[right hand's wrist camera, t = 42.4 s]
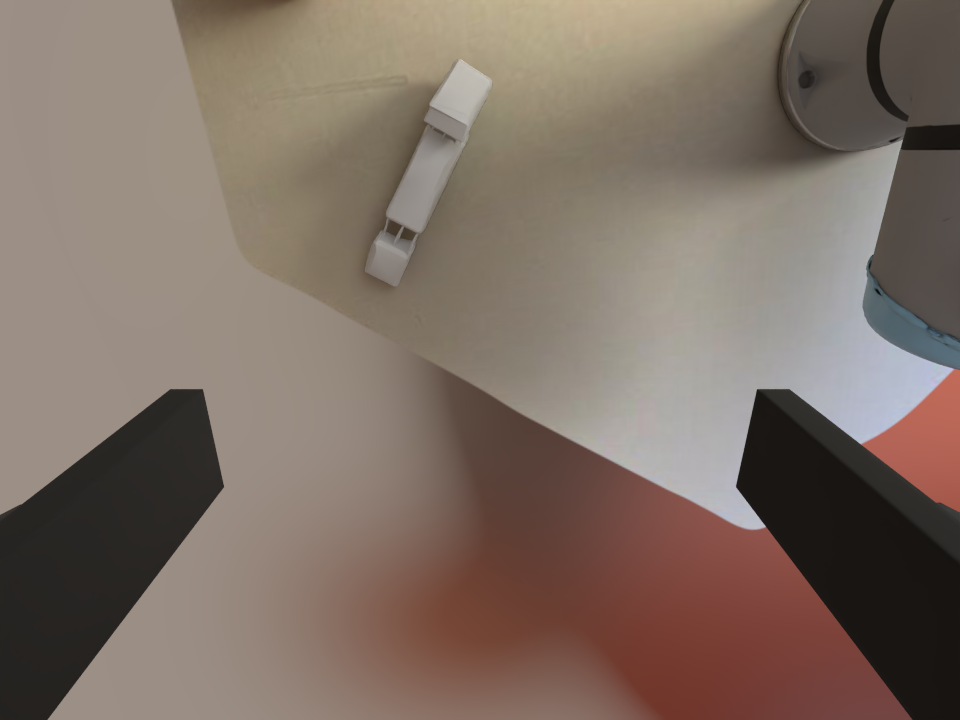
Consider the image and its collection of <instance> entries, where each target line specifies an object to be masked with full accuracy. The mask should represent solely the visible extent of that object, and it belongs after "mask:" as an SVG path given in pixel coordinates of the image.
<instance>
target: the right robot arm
mask: <svg viewBox="0 0 960 720" xmlns="http://www.w3.org/2000/svg"><path fill="white" fill-rule="evenodd" d="M778 83H779V92H780V97H781V101H782V104H783V107H784V109H785V112H786V114H787V116H788V118H789V120H790V121H791V123H792V124H793V126H794V127H795V128H796V129H797V130H798V131H799V132H800V133H801V134H802V135H803V136H804V137H805V138H807V139H808V140H810V141H811V142H813V143H815V144H817V145H819V146H822V147H825V148H829V149H833V150H845V151H860V150H870V149H875V148H879V147H882V146H886V145H889V144H892V143H895V142H898V141H900V140H902V139H903V142H902V146H901V150H900V153H899V157H898V161H897V165H896V169H895V173H894V177H893V180H892V184H891V188H890V192H889V196H888V200H887V204H886V208H885V212H884V216H883V220H882V224H881V228H880V232H879V236H878V240H877V244H876V248H875V252H874V255H872V256H871V257H870V259H869V261H868V263H867V268H866V270H867V278H868V279H867V284H866V289H865V294H864V299H863V310H864V314H865V317H866V320H867V322H868V324H869V325H870V326H871V327H872V328H873V330H874V331H875V332H876V333H878V334H879V335H880V336H881V337H883V338H884V339H885V340H887V341H888V342H890V343H892V344H893V345H895V346H897V347H899V348H901V349H903V350H905V351H907V352H909V353H911V354H914V355H916V356H918V357H921V358H923V359H926V360H929V361H931V362H934V363H937V364H940V365H943V366H947V367H950V368H954V369H958V370H960V0H804V1H803V2H802V4H801V5H800V7H799V8H798V10H797V12H796V13H795V15H794V17H793V19H792V21H791V23H790V25H789V28H788V30H787V33H786V35H785V38H784V41H783V45H782V49H781V54H780V59H779V67H778ZM223 488H224V485H223V480H222V476H221V471H220V466H219V462H218V457H217V452H216V448H215V443H214V438H213V434H212V429H211V425H210V420H209V415H208V411H207V406H206V402H205V397H204V392H203V389H170V390H169V391H168V392H166V393H165V394H164V395H163V396H161V397H160V398H159V399H157V400H156V401H155V402H154V403H152V404H151V405H150V406H148V407H147V408H146V409H145V410H143V411H142V412H141V413H139V414H138V415H137V416H135V417H134V418H133V419H132V420H130V421H129V422H128V423H126V424H125V425H124V426H123V427H121V428H120V429H119V430H117V431H116V432H115V433H114V434H112V435H111V436H110V437H108V438H107V439H106V440H105V441H103V442H102V443H101V444H99V445H98V446H97V447H95V448H94V449H93V450H92V451H90V452H89V453H88V454H86V455H85V456H84V457H83V458H81V459H80V460H79V461H77V462H76V463H75V464H73V465H72V466H71V467H70V468H68V469H67V470H66V471H64V472H63V473H62V474H61V475H59V476H58V477H57V478H55V479H54V480H53V481H52V482H50V483H49V484H48V485H46V486H45V487H44V488H43V489H41V490H40V491H39V492H37V493H36V494H35V495H34V496H32V497H31V498H30V499H28V500H27V501H26V502H24V503H23V504H22V505H19V506H17V507H15V508H13V509H11V510H9V511H7V512H5V513H3V514H1V515H0V720H47V719H48V718H49V717H50V716H51V714H52V713H53V712H54V710H55V709H56V708H57V706H58V705H59V704H60V702H61V701H62V700H63V698H64V697H65V696H66V694H67V693H68V692H69V690H70V689H71V688H72V687H73V685H74V684H75V683H76V681H77V680H78V679H79V677H80V676H81V675H82V673H83V672H84V671H85V669H86V668H87V667H88V665H89V664H90V663H91V662H92V660H93V659H94V658H95V656H96V655H97V654H98V652H99V651H100V650H101V648H102V647H103V646H104V644H105V643H106V642H107V640H108V639H109V638H110V636H111V635H112V634H113V632H114V631H115V630H116V629H117V627H118V626H119V625H120V623H121V622H122V621H123V619H124V618H125V617H126V615H127V614H128V613H129V611H130V610H131V609H132V608H133V606H134V605H135V604H136V602H137V601H138V600H139V598H140V597H141V596H142V594H143V593H144V592H145V590H146V589H147V588H148V586H149V585H150V584H151V582H152V581H153V580H154V578H155V577H156V576H157V575H158V573H159V572H160V571H161V569H162V568H163V567H164V565H165V564H166V563H167V561H168V560H169V559H170V557H171V556H172V555H173V553H174V552H175V551H176V550H177V548H178V547H179V546H180V544H181V543H182V542H183V540H184V539H185V538H186V536H187V535H188V534H189V532H190V531H191V530H192V528H193V527H194V526H195V524H196V523H197V522H198V521H199V519H200V518H201V517H202V515H203V514H204V513H205V511H206V510H207V509H208V507H209V506H210V505H211V503H212V502H213V501H214V499H215V498H216V497H217V495H218V494H219V493H220V491H221V490H222V489H223ZM736 488H737V489H738V490H739V492H740V493H741V494H742V495H743V497H744V498H745V499H746V501H747V502H748V503H749V505H750V506H751V507H752V509H753V510H754V511H755V513H756V514H757V515H758V517H759V518H760V519H761V521H762V522H763V523H764V524H765V526H766V527H767V528H768V530H769V531H770V532H771V534H772V535H773V536H774V538H775V539H776V540H777V542H778V543H779V544H780V546H781V547H782V548H783V549H784V551H785V552H786V553H787V555H788V556H789V557H790V559H791V560H792V561H793V563H794V564H795V565H796V567H797V568H798V569H799V571H800V572H801V573H802V575H803V576H804V577H805V579H806V580H807V581H808V582H809V584H810V585H811V586H812V588H813V589H814V590H815V592H816V593H817V594H818V596H819V597H820V598H821V600H822V601H823V602H824V604H825V605H826V606H827V608H828V609H829V610H830V611H831V613H832V614H833V615H834V617H835V618H836V619H837V621H838V622H839V623H840V625H841V626H842V627H843V629H844V630H845V631H846V632H847V634H848V635H849V636H850V638H851V639H852V640H853V642H854V643H855V644H856V646H857V647H858V648H859V650H860V651H861V652H862V654H863V655H864V656H865V658H866V659H867V660H868V661H869V663H870V664H871V665H872V667H873V668H874V669H875V671H876V672H877V673H878V675H879V676H880V677H881V679H882V680H883V681H884V683H885V684H886V685H887V687H888V688H889V689H890V691H891V692H892V693H893V694H894V696H895V697H896V698H897V700H898V701H899V702H900V704H901V705H902V706H903V708H904V709H905V710H906V712H907V713H908V714H909V716H910V717H911V718H912V720H960V513H959V512H957V511H956V510H954V509H952V508H950V507H948V506H946V505H944V504H942V503H936V502H934V501H933V500H932V499H930V498H929V497H928V496H927V495H925V494H924V493H923V492H921V491H920V490H919V489H917V488H916V487H915V486H914V485H912V484H911V483H910V482H908V481H907V480H906V479H905V478H903V477H902V476H901V475H899V474H898V473H897V472H896V471H894V470H893V469H892V468H890V467H889V466H888V465H887V464H885V463H884V462H883V461H881V460H880V459H879V458H877V457H876V456H875V455H873V454H872V453H871V452H870V451H868V450H867V449H866V448H865V447H863V446H862V445H861V444H859V443H858V442H857V441H856V440H854V439H853V438H852V437H850V436H849V435H848V434H846V433H845V432H844V431H843V430H841V429H840V428H839V427H837V426H836V425H835V424H834V423H832V422H831V421H830V420H828V419H827V418H826V417H825V416H823V415H822V414H821V413H819V412H818V411H817V410H816V409H814V408H813V407H812V406H810V405H809V404H808V403H806V402H805V401H804V400H803V399H801V398H800V397H799V396H797V395H796V394H795V393H794V392H792V391H791V390H790V389H757V392H756V397H755V402H754V406H753V411H752V415H751V420H750V425H749V429H748V434H747V438H746V443H745V448H744V452H743V457H742V462H741V466H740V471H739V475H738V480H737V485H736Z"/></svg>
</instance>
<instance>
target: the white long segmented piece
mask: <svg viewBox="0 0 960 720" xmlns="http://www.w3.org/2000/svg"><path fill="white" fill-rule="evenodd" d="M491 87H492V82H491V79H490V78H489V77H487V76H485V75H484V74H482V73H481V72H479V71H477V70H476V69H474V68H473V67H471V66H470V65H468V64H467V63H465V62H464V61H462V60H461V59H457V60H456V61H455V62H454V63H453V65H452V67H451V69H450V71H449V73H448V74H447V76H446V78H445V79H444V81H443V82H442V84H441V86H440V87H439V89H438V90H437V92H436V94H435V95H434V97H433V99H432V100H431V102H430V103H429V105H430V108H429V110H428V112H427V114H426V116H425V118H424V121H425V122H427V123H428V124H427V126H426V127H425V130H424V132H423V135H422V137H421V139H420V141H419V143H418V145H417V147H416V149H415V151H414V154H413V156H412V158H411V160H410V162H409V165H408V167H407V169H406V171H405V173H404V175H403V178H402V180H401V182H400V184H399V186H398V188H397V190H396V192H395V194H394V196H393V198H392V200H391V202H390V204H389V206H388V208H387V210H386V217H387V220H386V225H385V228H384V230H381V231H380V233H379V234H378V236H377V237H376V238H375V240H374V241H373V243H372V245H371V247H370V250H369V253H368V256H367V261H366V266H365V270H364V271H365V272H366V273H368V274H370V275H372V276H374V277H376V278H378V279H380V280H382V281H384V282H386V283H388V284H390V285H392V286H395V287H396V286H397V285H398V284H399V282H400V279H401V277H402V276H403V274H404V272H405V269H406V267H407V265H408V263H409V260H410V258H411V256H412V253H413V251H414V249H415V246H416V243H415V242H416V240H417V237H418V235H419V234H421V233H422V232H423V231H424V230H425V228H426V226H427V224H428V222H429V220H430V218H431V216H432V214H433V211H434V209H435V207H436V205H437V203H438V201H439V199H440V197H441V195H442V193H443V191H444V188H445V186H446V184H447V182H448V180H449V178H450V176H451V174H452V172H453V170H454V168H455V166H456V164H457V161H458V159H459V157H460V155H461V153H462V151H463V149H464V147H465V145H466V143H467V141H468V139H469V131H470V129H471V127H472V125H473V123H474V121H475V119H476V117H477V116H478V114H479V112H480V110H481V108H482V106H483V104H484V102H485V101H486V98H487V96H488V94H489V92H490V89H491ZM390 220H392V221H394V222H396V223H398V224H400V225H402V227H401V229H400V231H399V232H398V234H397V236H395V235H393V234H390V233H388V232H386V230H387V226H388V224H389V221H390ZM404 227H406V228H407V229H409V230H411V231H413V232H415V233H416V234H415V237H414V239H413V241H412V240H407V239H402V238H400V236H401V234H402V231H403V229H404Z"/></svg>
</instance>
